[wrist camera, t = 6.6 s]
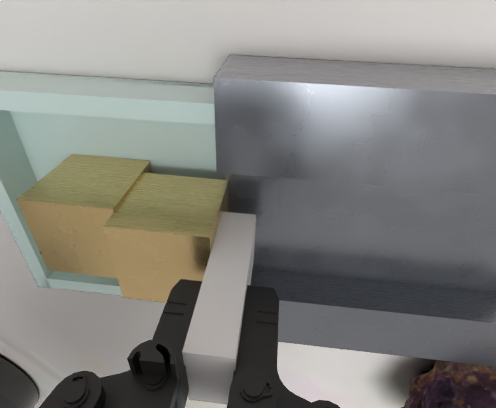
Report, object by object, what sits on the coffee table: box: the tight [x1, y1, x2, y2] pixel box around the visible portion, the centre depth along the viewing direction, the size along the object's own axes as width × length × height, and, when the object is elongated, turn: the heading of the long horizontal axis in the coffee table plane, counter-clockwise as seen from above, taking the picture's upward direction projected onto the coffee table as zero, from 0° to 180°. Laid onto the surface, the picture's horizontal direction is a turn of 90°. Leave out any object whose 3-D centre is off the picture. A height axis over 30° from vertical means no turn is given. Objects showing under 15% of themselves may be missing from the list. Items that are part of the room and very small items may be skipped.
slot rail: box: [214, 55, 496, 367], centre depth 16 cm, size 15×14×4 cm
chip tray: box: [0, 71, 225, 296], centre depth 17 cm, size 11×12×2 cm
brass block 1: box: [16, 154, 152, 278], centre depth 16 cm, size 4×4×4 cm
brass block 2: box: [103, 173, 229, 303], centre depth 15 cm, size 4×4×4 cm
